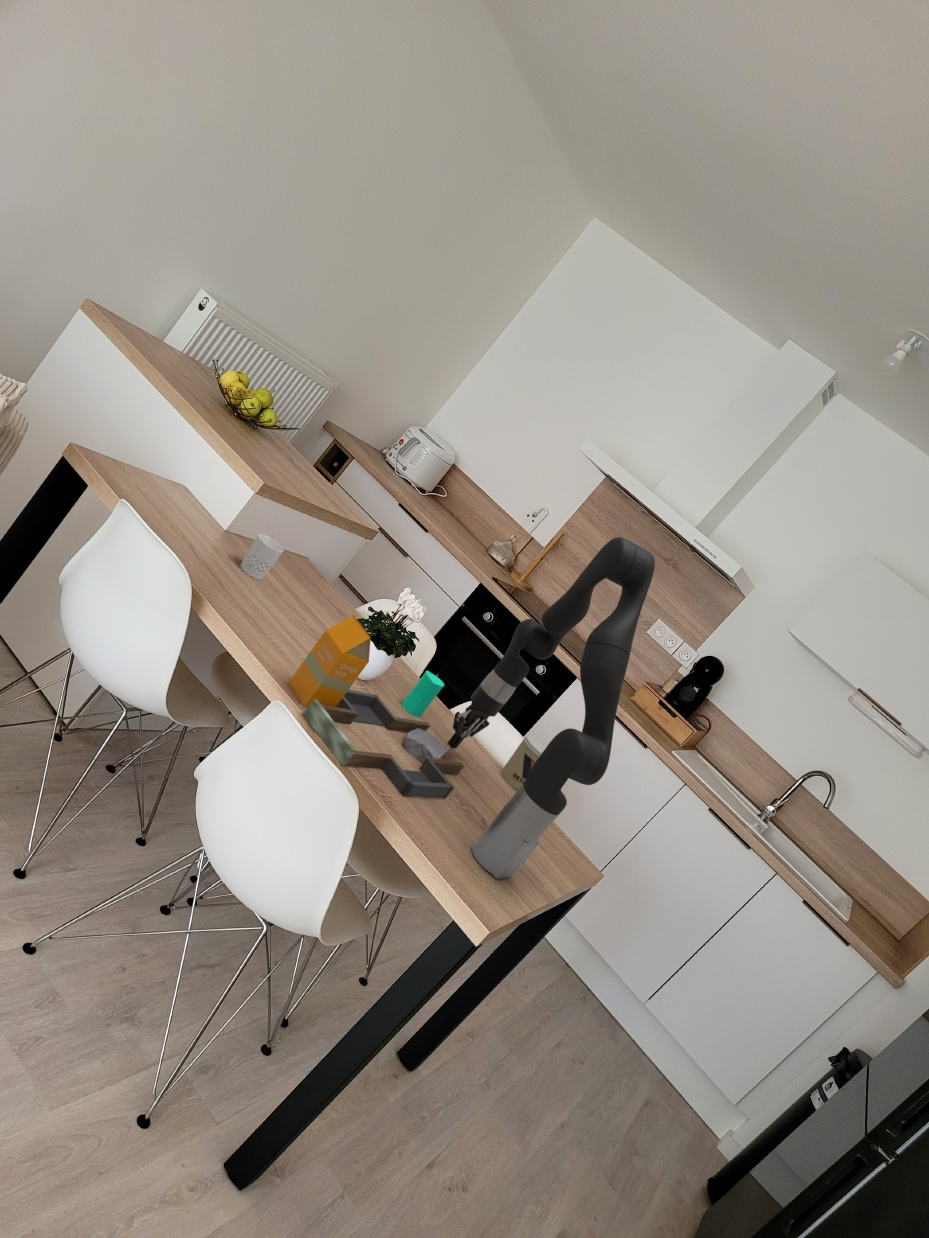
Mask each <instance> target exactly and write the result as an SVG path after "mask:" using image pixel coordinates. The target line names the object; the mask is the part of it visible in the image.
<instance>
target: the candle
mask: <svg viewBox="0 0 929 1238" xmlns="http://www.w3.org/2000/svg"><path fill="white" fill-rule="evenodd" d="M438 675H439V674H437V675H435V674H433V672H430V671H429V670H426V671H425V672H424V674H423V675H422V676H421V678H420V679H419V680H418V681H417V682H416V684H415V685H414V687H413V688H412V689H411V690H410V692H409V693H408V694H407V695H406V697H405V699H404V700H403V702H401V705H402V708H404V710H406V712H408V713H409V714H410V715H412V716H413V717H415V718H421V717H422V716H423V714H424V712H426V710H427V709H428V707H429V706H430V705H431V703H432V702H433V701H434V699H435V698H436V697H437V695H438V694H439V693H440V692H441V690H442V689H443V687H445V683H444V681H443V680H441V679H440V678H439V677H438Z"/></svg>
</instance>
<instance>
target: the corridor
mask: <svg viewBox="0 0 929 1238" xmlns="http://www.w3.org/2000/svg"><path fill="white" fill-rule="evenodd" d="M302 715H303V717H304V718H305V719H306V721H307V722H308V723H309V725H310V726H311V727H312V729H313V730H314V731H315V733H316V734H317V736H318V738H320V740H321V741H322V743H323V744H324V745H325V746H326V748H327V749H328V750H329V751H330V753H331V754H332V755H333V757H334V758H335V760H336V761H337V762H338V764H339V765H340V766H343V767H344V766H347V767H357V768H368V769H379V770H380V769H381V770H382V768H383V767H384V766H385V764H386V763H387V762H388V760H389V759H390V758H394V756H392V754H390V753H379V752H370V751H369V752H368V751H362V750H361V751H360V750H357V749H356V748H355V747H354V745H353V744H352V743H351V742H350V740H349V739H348V737H347V736H346V734H345V733H344V732H343V731H342V730H341V728H339V726H338V724H337V723H340V724H344V725H345V724H346V725H351V724H352V723H353V720H354V719H355V718H356V716H357V715H358V713H357V712H356V711H355V710H350V709H344V708H338V707H332V706H326V705H321V704H320V703H319V701H318V700H316V699H313V700H312V702H311V703H310V704H309V706H308V707H306V709H305V710H304V712H303V713H302ZM384 727H385V729H386V730H387V731H393V732H400V733H406V734H407V733H409V732H410V731H412V730H416V729H417V728H418V729H422V730H425V731H426V732H428V729H429V728H430V727H431V725H430V724H429V723H428V721H427V722H425V721H420V720H414V719H408V718H401V717H398V716H397V717H396V716H395V717H391V719H390V720H389V721H388V723H387V724H386V725H385V726H384ZM430 762H433V763H434V764H435V765H436V767H437V768H438V769H439V770H440V771H441V773H442V774H443V775H451V776H458V774H459V773H460V772H461V771H462V770H463V768H464V767H465V764H464V763H463V762H461V761H454V760H446V759H445V760H444V759H440V760H436V759H426V760H425V762H424V763H423V764H422V763H421V766H420V767H419V771H422V772H423V770H424V769H425V768H426V767H427V765H428V764H429V763H430Z"/></svg>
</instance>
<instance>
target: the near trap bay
mask: <svg viewBox="0 0 929 1238" xmlns="http://www.w3.org/2000/svg"><path fill="white" fill-rule="evenodd" d="M381 770H382V771H383V773H385V774H386V775H385V776H387V778H389V780H390V781H391V782H392V784H393V786H394V787H395V788H396V789H397V790H398V792H399V793H400V794H401V795H402V797H416V798H417V797H418V798H440V799H441V798H442V799H443V798H444V799H446V798H448V796H449V795H450V793H451V792H452V791H453V790H454V788H455V787H454V786H453V784H452V783H451V781H449V780H448V778H447V777H446V776H445V774H442V773H441V771H440V770H439V769H438V768H437V767H436V765H435V764H434V763H433V762H430V763H429V764H428V765H427V767H426V768H425V769H424V770H423V772H422V771H421V770H410V769H403V768H402V767H401V766H400V764H399V762H397V761H396V759H395V758H394V757H393V758H390V759H389V760H388V762H387V763H386V764H385V766H384V767H383V768H382V769H381Z"/></svg>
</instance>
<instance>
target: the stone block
mask: <svg viewBox="0 0 929 1238" xmlns="http://www.w3.org/2000/svg"><path fill="white" fill-rule="evenodd" d="M402 748H403V749H404V750H405V751H406V752H407V754H408V755H410V756H412V757H413V758H414V759H416V760H418V762H420V763H421V765H422V764H423V763H424V762H425V760H426V759H436V760H442V759H443V758H444V756H445V755H446V754H447V753H448V751H449V747H446V745H444V744H443V742H441V741H440V740H439V738H438V737H436V735H434V734H432V733H430V732H429V731H425V730H422V729H418V728H417V729H416V730H412V731H410V732H409V733H406V735H405V737H404V738H403V741H402Z"/></svg>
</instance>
